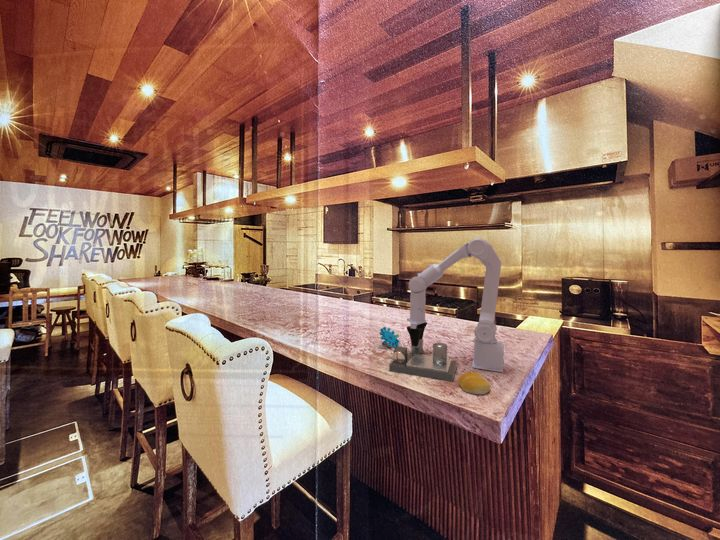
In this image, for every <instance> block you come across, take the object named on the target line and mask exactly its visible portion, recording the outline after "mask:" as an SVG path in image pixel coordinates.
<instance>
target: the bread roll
mask: <svg viewBox="0 0 720 540" xmlns="http://www.w3.org/2000/svg"><path fill="white" fill-rule="evenodd" d="M457 381H458V384H459V386H460V387H461V389H462V391H464V392H466V393H469V394H472V395H485V394H488V393H489V392H490V391H491V385H490V384H491V383H489V381H488V380H486V379H485V377H484V376H482V375H481V374H480V373H478V372H474V371H473V372H472V371H469V372H468V371H467V372H464V373H463V374H461V375H459V377H458V380H457Z"/></svg>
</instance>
